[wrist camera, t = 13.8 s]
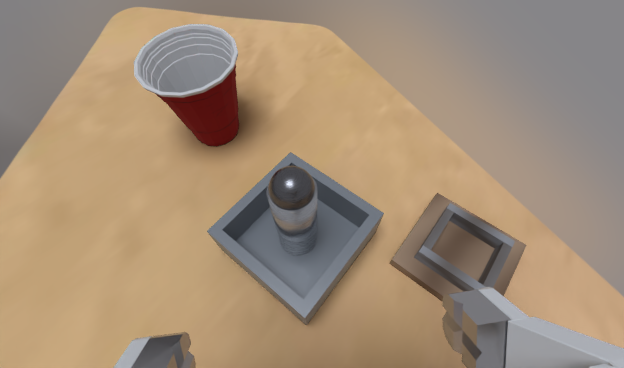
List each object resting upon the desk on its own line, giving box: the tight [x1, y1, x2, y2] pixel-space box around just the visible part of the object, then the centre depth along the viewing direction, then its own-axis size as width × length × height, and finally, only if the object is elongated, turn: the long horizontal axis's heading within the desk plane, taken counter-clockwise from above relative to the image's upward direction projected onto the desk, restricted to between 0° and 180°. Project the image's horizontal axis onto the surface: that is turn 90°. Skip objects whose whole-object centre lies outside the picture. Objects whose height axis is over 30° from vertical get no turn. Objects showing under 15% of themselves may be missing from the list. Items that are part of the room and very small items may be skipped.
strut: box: [267, 166, 317, 256], centre depth 27 cm, size 4×4×12 cm
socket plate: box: [390, 193, 526, 301], centre depth 30 cm, size 10×10×3 cm
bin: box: [207, 152, 384, 325], centre depth 30 cm, size 12×12×5 cm
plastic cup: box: [134, 24, 239, 146], centre depth 36 cm, size 11×11×12 cm
